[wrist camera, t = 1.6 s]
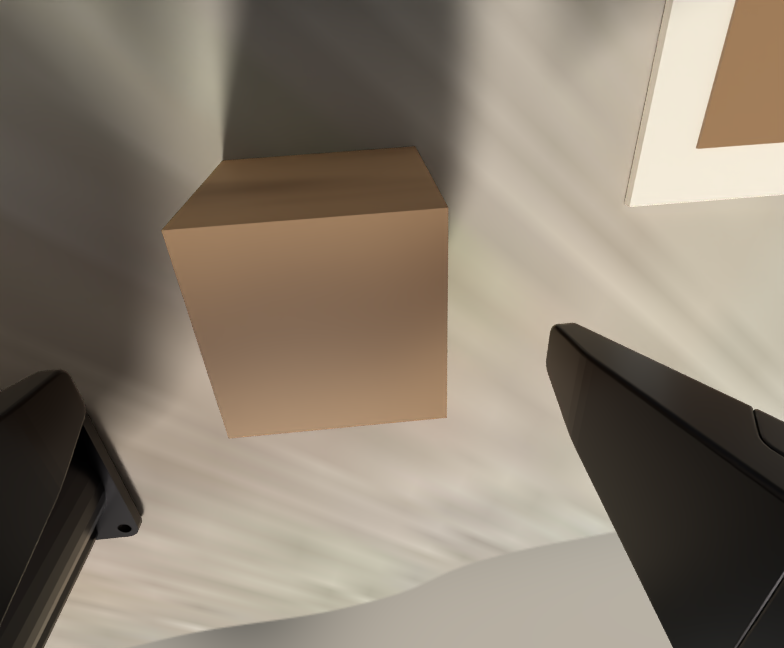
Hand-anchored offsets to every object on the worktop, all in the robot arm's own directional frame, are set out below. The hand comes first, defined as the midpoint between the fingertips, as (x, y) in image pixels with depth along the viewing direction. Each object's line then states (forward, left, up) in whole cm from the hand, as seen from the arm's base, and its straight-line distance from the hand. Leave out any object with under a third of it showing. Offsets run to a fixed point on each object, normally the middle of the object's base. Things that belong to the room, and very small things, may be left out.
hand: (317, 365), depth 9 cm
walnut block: (0, 0, -6) cm, 6 cm away
